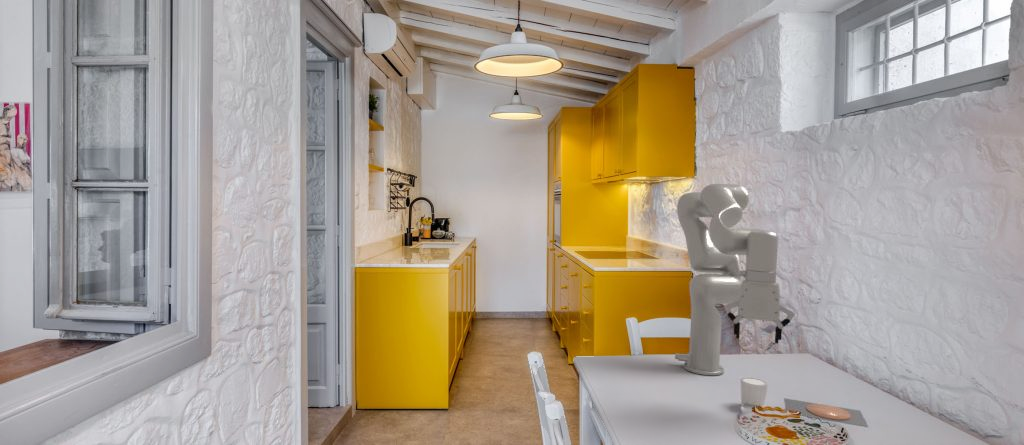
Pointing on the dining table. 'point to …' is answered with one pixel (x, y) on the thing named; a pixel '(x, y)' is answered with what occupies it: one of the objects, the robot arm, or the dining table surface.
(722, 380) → the dining table surface
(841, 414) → the coaster
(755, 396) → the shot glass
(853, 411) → the board
